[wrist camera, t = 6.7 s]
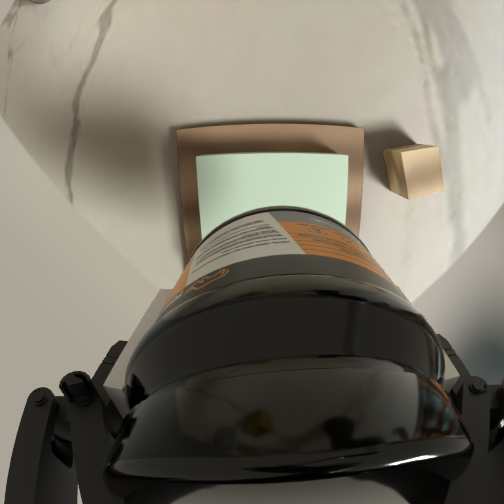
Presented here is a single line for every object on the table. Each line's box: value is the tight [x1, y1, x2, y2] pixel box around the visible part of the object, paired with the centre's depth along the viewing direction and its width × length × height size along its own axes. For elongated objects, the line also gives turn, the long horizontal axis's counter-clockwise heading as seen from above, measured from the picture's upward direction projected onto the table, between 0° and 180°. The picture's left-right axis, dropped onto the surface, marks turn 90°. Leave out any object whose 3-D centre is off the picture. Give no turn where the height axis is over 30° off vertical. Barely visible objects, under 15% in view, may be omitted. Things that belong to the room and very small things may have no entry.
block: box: [382, 144, 444, 200], centre depth 26 cm, size 5×5×5 cm
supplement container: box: [102, 205, 475, 504], centre depth 10 cm, size 10×10×12 cm
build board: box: [176, 124, 364, 259], centre depth 31 cm, size 20×20×2 cm
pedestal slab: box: [196, 152, 348, 240], centre depth 28 cm, size 14×14×4 cm
